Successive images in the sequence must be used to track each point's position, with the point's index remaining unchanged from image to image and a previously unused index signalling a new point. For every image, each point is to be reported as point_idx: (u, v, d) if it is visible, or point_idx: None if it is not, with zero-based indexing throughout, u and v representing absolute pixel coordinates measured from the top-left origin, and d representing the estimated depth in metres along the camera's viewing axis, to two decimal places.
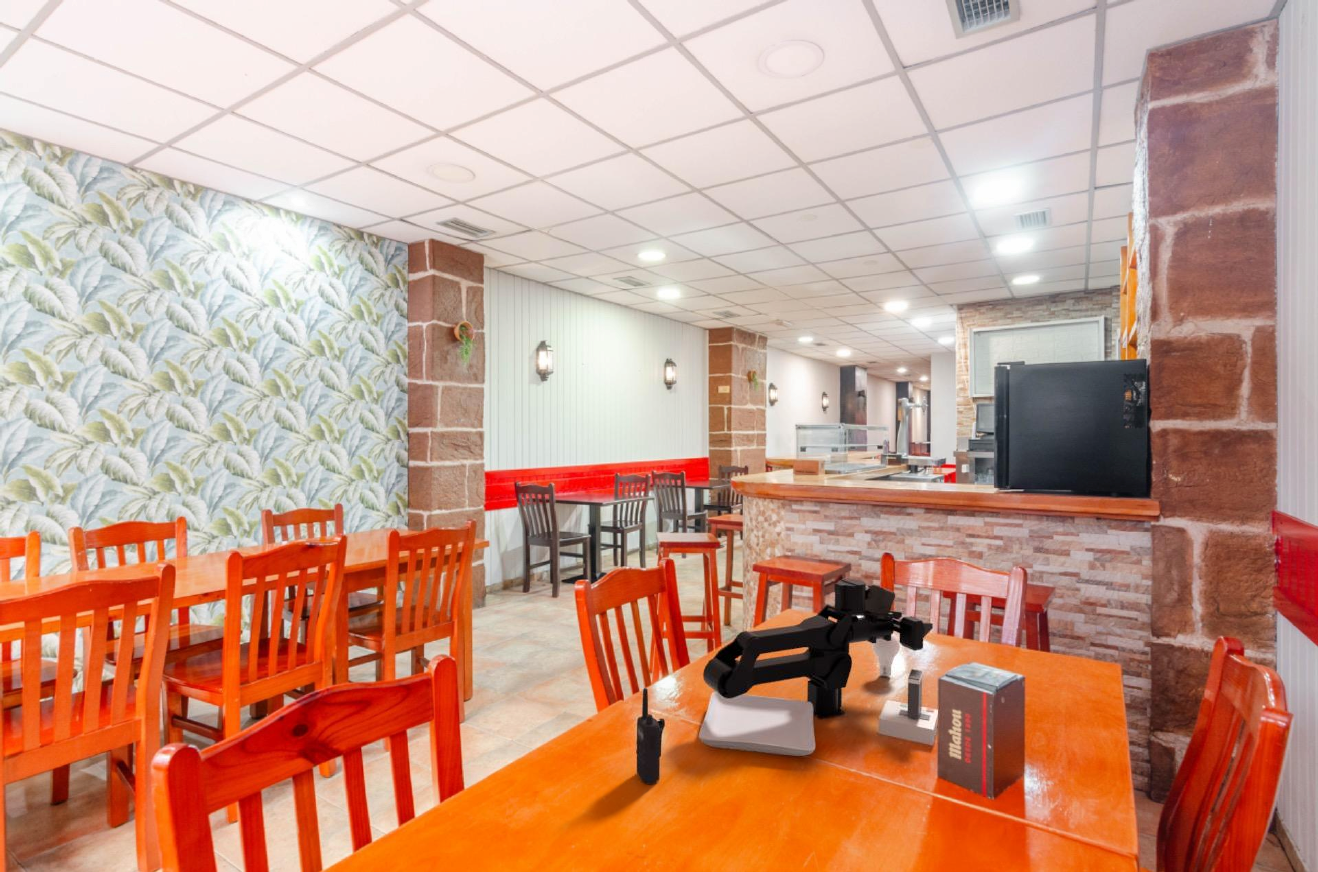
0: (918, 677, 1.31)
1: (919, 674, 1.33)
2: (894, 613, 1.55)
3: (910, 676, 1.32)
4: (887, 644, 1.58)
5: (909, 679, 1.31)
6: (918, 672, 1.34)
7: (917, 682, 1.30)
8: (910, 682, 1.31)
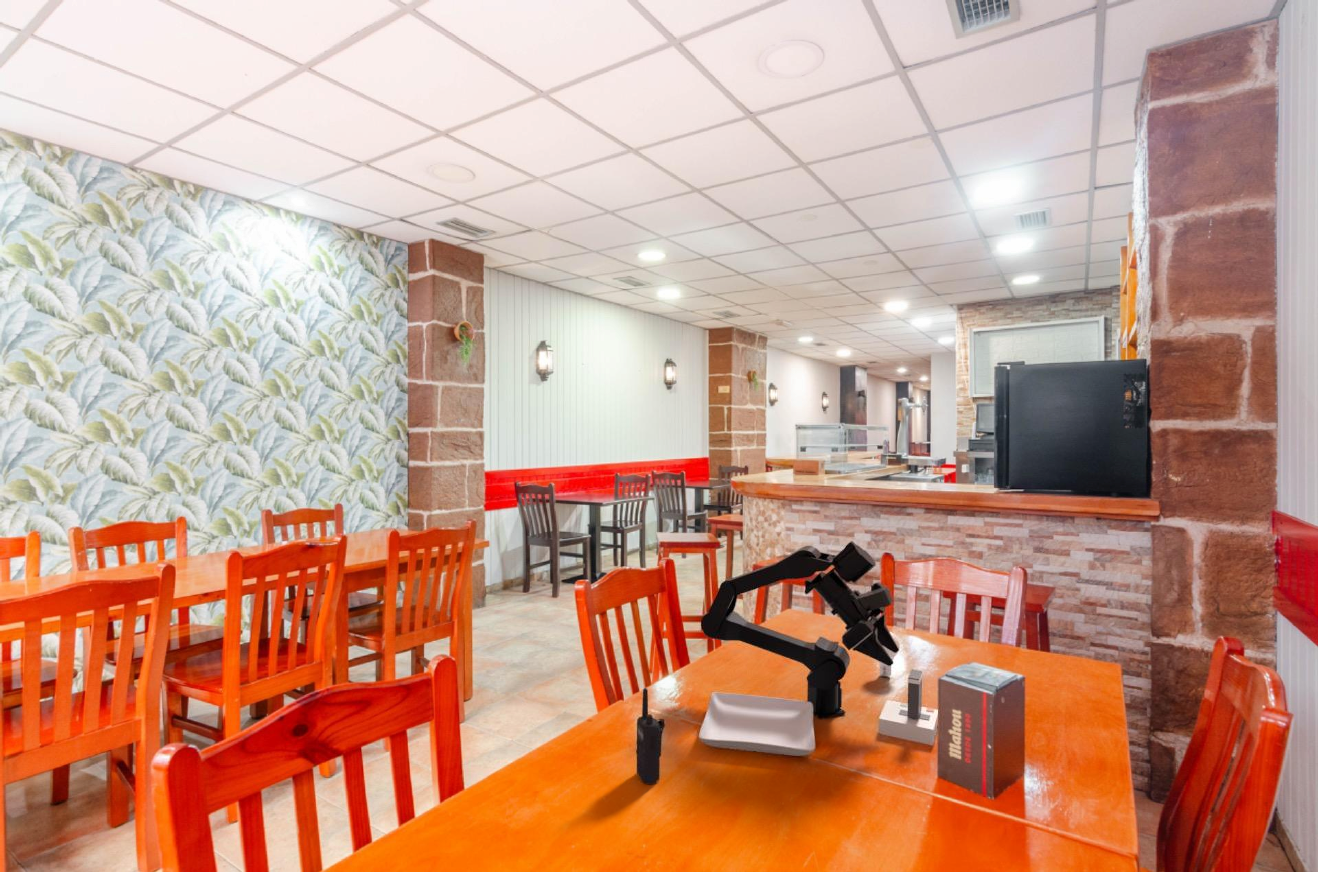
0: (918, 677, 1.31)
1: (919, 674, 1.33)
2: (891, 641, 1.39)
3: (910, 676, 1.32)
4: None
5: (909, 679, 1.31)
6: (918, 672, 1.34)
7: (917, 682, 1.30)
8: (910, 682, 1.31)
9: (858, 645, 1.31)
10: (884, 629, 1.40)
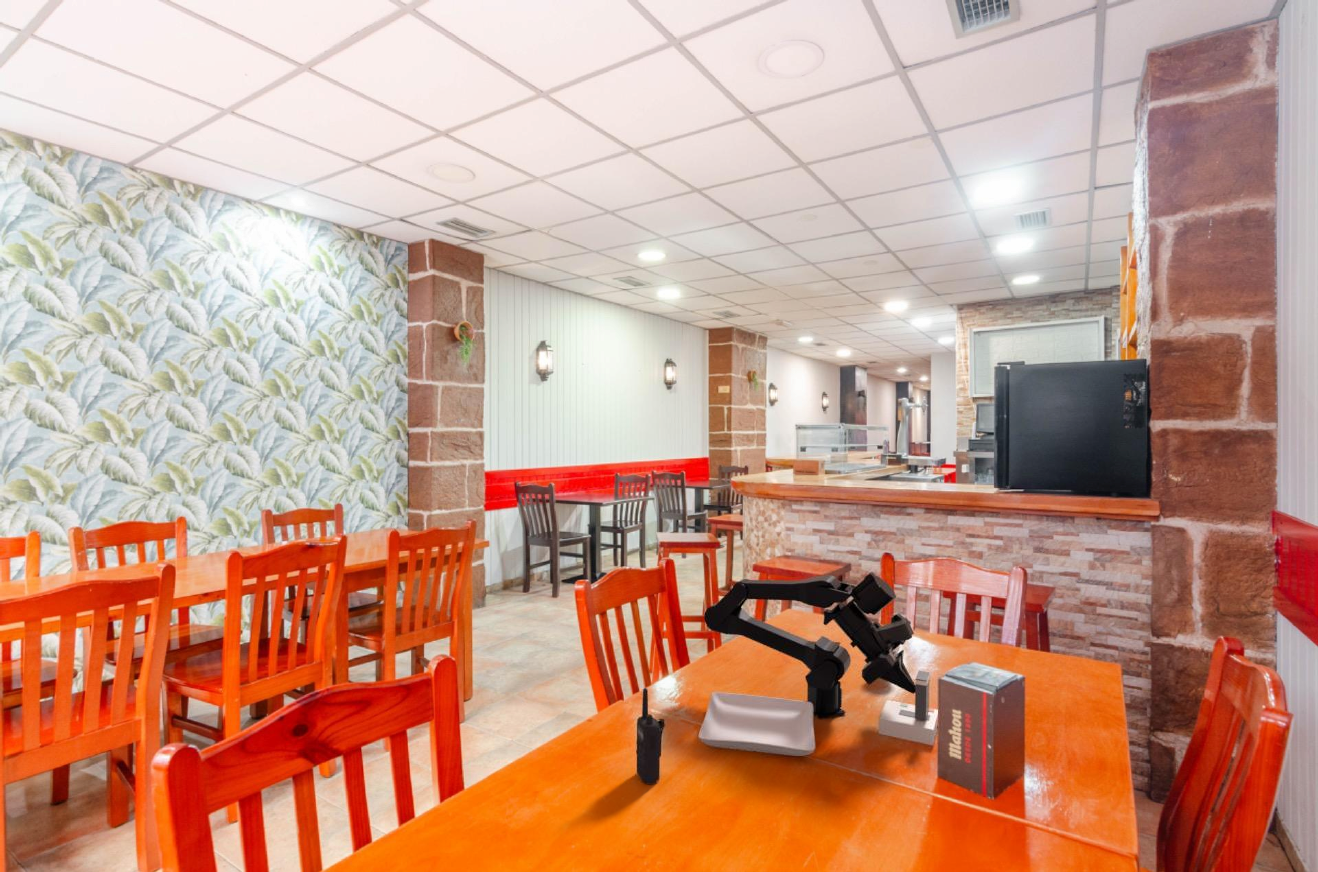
0: (925, 678, 1.30)
1: (926, 675, 1.32)
2: None
3: (917, 677, 1.31)
4: None
5: (916, 680, 1.30)
6: (925, 673, 1.33)
7: (924, 683, 1.30)
8: (918, 683, 1.30)
9: None
10: (902, 667, 1.34)
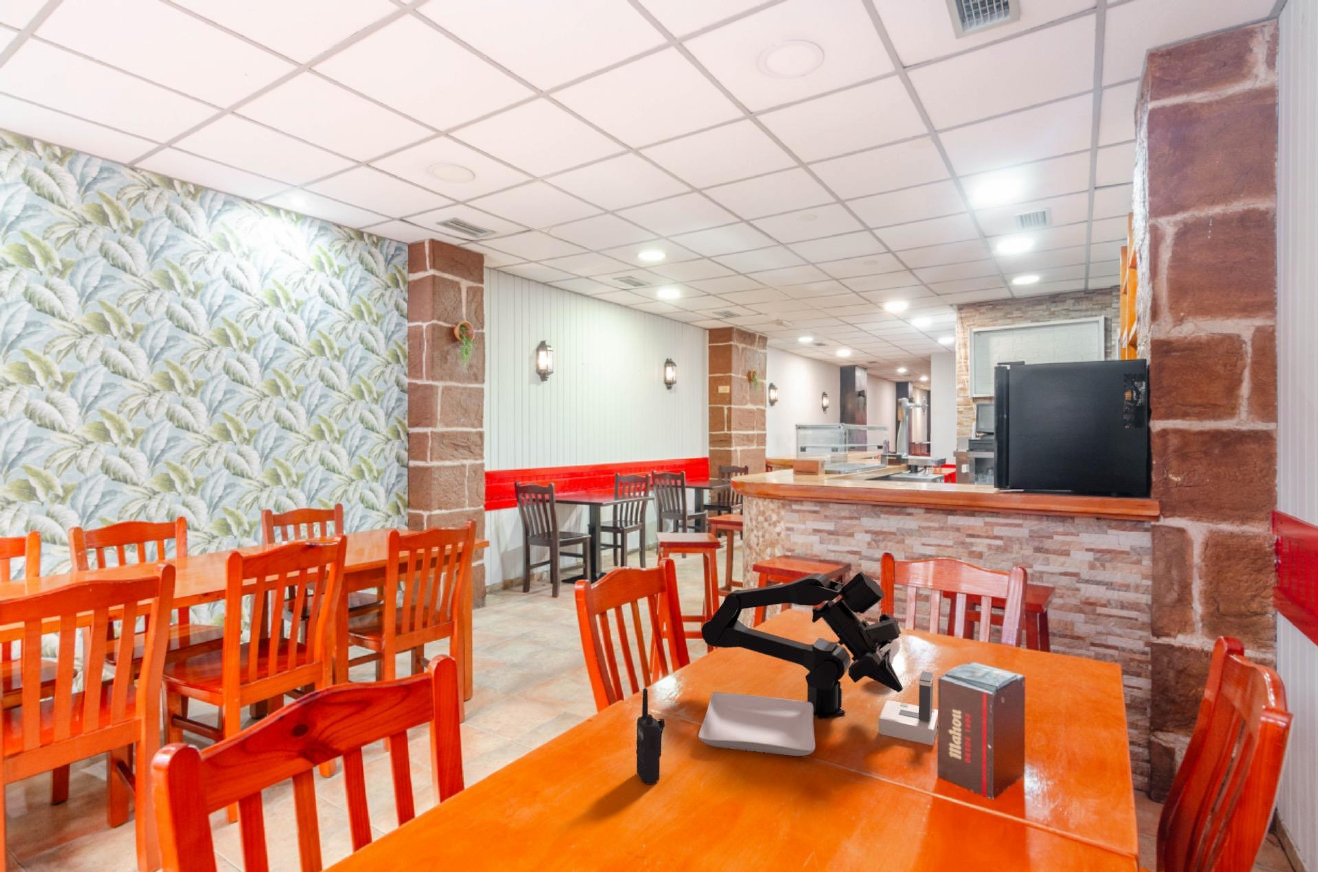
0: (929, 679, 1.30)
1: (930, 676, 1.32)
2: None
3: (921, 678, 1.31)
4: (887, 644, 1.58)
5: (920, 681, 1.30)
6: (929, 673, 1.33)
7: (928, 684, 1.29)
8: (921, 684, 1.30)
9: None
10: (888, 666, 1.36)
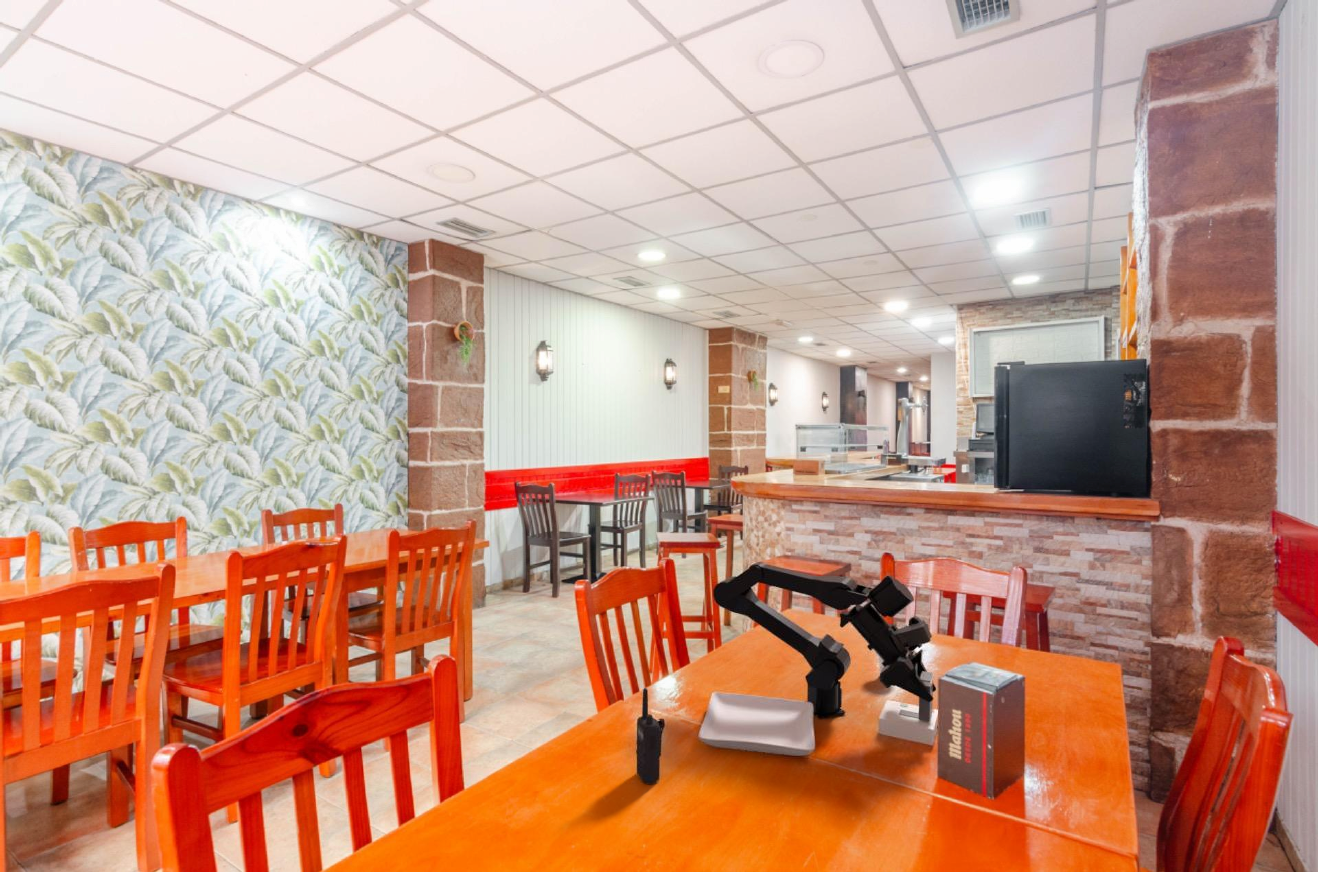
0: (929, 679, 1.30)
1: (930, 676, 1.32)
2: None
3: (921, 678, 1.31)
4: None
5: None
6: (928, 673, 1.33)
7: (928, 684, 1.29)
8: None
9: (898, 680, 1.29)
10: (921, 667, 1.35)
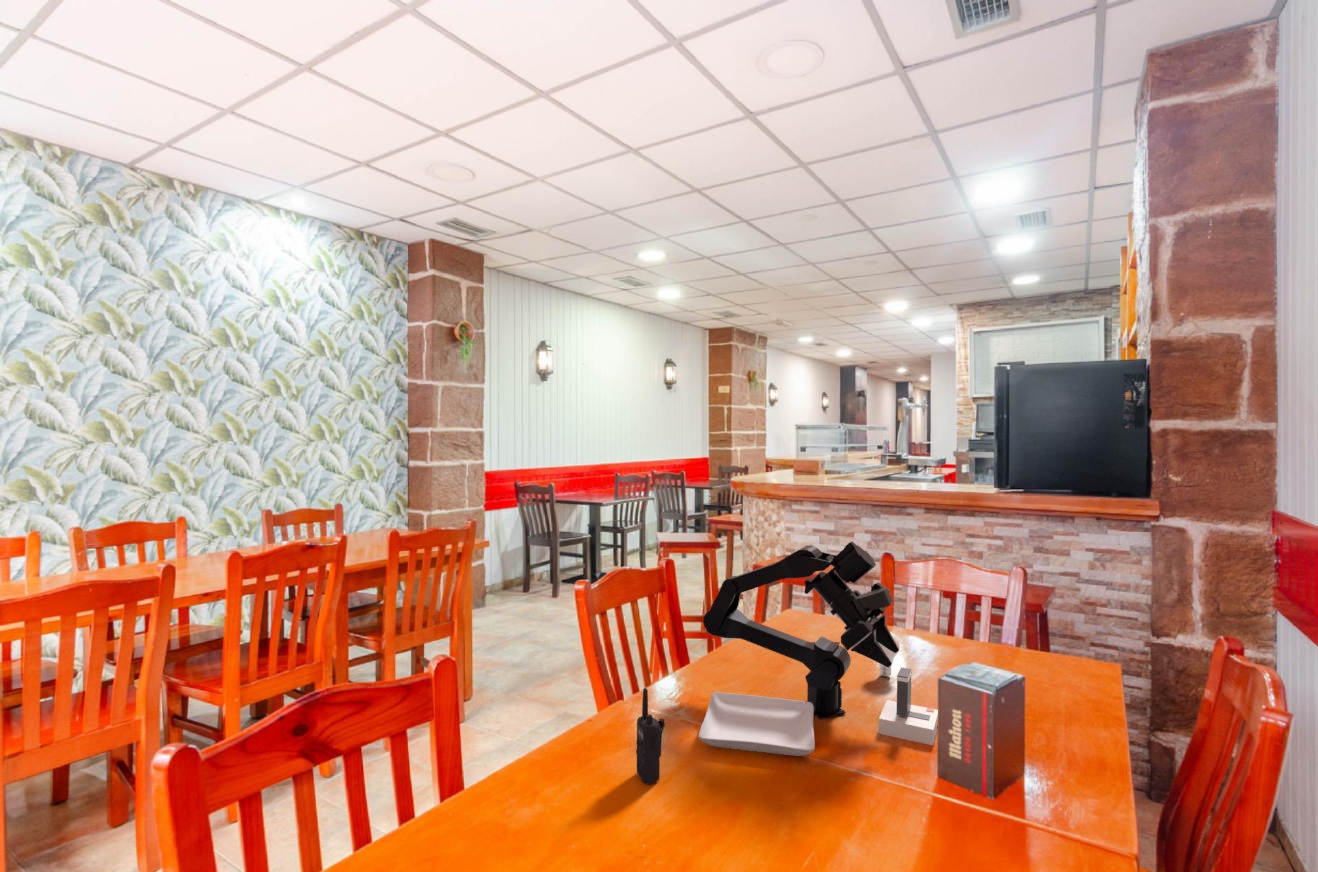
0: (907, 675, 1.32)
1: (908, 672, 1.34)
2: (891, 641, 1.39)
3: (899, 674, 1.33)
4: None
5: (898, 677, 1.32)
6: (907, 670, 1.35)
7: (906, 680, 1.31)
8: (899, 680, 1.32)
9: (856, 646, 1.30)
10: (884, 629, 1.40)
